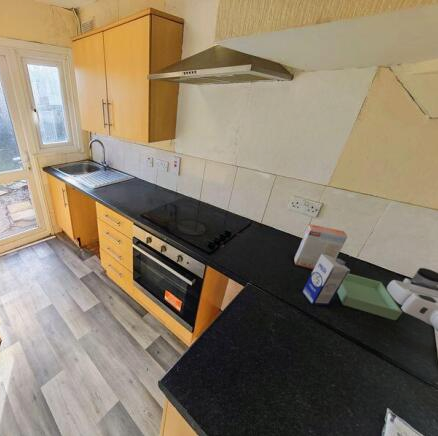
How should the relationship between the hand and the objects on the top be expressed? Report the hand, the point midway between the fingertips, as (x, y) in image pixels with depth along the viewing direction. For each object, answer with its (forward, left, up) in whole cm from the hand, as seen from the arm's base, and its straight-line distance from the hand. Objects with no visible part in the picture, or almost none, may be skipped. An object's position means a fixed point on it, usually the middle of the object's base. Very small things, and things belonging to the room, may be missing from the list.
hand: (419, 283), depth 74 cm
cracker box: (+21, -26, -20) cm, 39 cm away
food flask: (0, +1, -7) cm, 7 cm away
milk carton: (+23, -2, -20) cm, 30 cm away
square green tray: (+5, -12, -20) cm, 23 cm away
